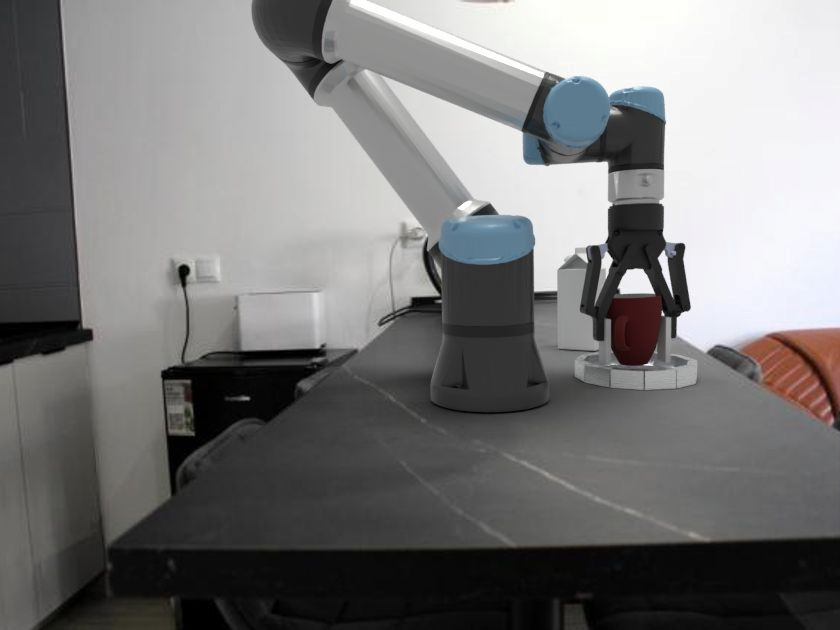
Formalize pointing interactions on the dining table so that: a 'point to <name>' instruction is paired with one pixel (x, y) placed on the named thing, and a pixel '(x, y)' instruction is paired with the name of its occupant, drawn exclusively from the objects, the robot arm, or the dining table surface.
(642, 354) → the mug
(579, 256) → the milk carton
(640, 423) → the dining table surface
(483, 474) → the dining table surface
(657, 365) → the round white tray
